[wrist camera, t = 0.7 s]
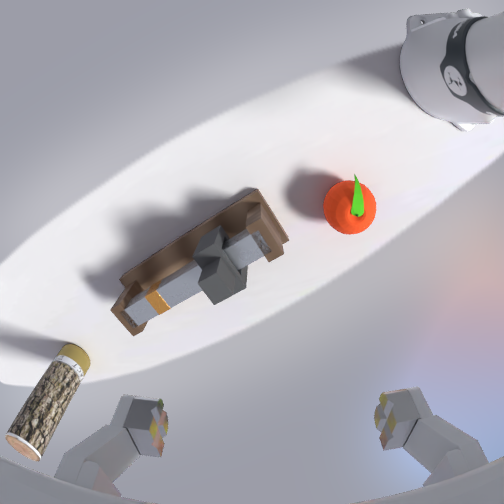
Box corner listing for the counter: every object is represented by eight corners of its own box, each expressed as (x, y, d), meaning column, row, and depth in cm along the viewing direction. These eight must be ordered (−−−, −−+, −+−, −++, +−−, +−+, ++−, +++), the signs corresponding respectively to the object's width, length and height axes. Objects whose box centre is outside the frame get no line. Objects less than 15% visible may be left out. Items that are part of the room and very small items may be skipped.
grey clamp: (220, 224, 41) (209, 257, 32) (247, 264, 43) (244, 305, 34) (201, 236, 42) (185, 271, 32) (228, 274, 44) (221, 317, 34)
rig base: (257, 188, 43) (257, 204, 35) (288, 236, 45) (294, 262, 38) (122, 275, 48) (101, 303, 41) (153, 312, 51) (137, 344, 43)
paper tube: (65, 362, 57) (12, 450, 34) (61, 338, 54) (-1, 428, 31) (93, 371, 57) (45, 466, 34) (89, 348, 55) (33, 446, 32)
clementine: (319, 167, 42) (331, 176, 35) (368, 169, 41) (387, 178, 35) (317, 224, 45) (327, 243, 38) (364, 224, 45) (381, 242, 38)
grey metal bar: (257, 221, 39) (257, 229, 36) (271, 242, 40) (272, 251, 37) (126, 300, 44) (119, 312, 41) (140, 316, 45) (133, 329, 42)
